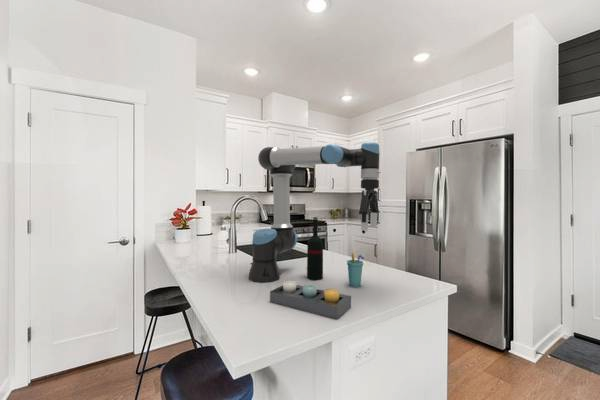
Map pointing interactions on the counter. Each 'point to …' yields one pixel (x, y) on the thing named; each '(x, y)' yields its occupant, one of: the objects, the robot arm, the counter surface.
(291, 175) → the robot arm
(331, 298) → the button amber
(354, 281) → the cup
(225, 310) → the counter surface
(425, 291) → the counter surface
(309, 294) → the button teal
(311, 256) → the wine bottle
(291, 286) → the button ivory
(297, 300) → the console
